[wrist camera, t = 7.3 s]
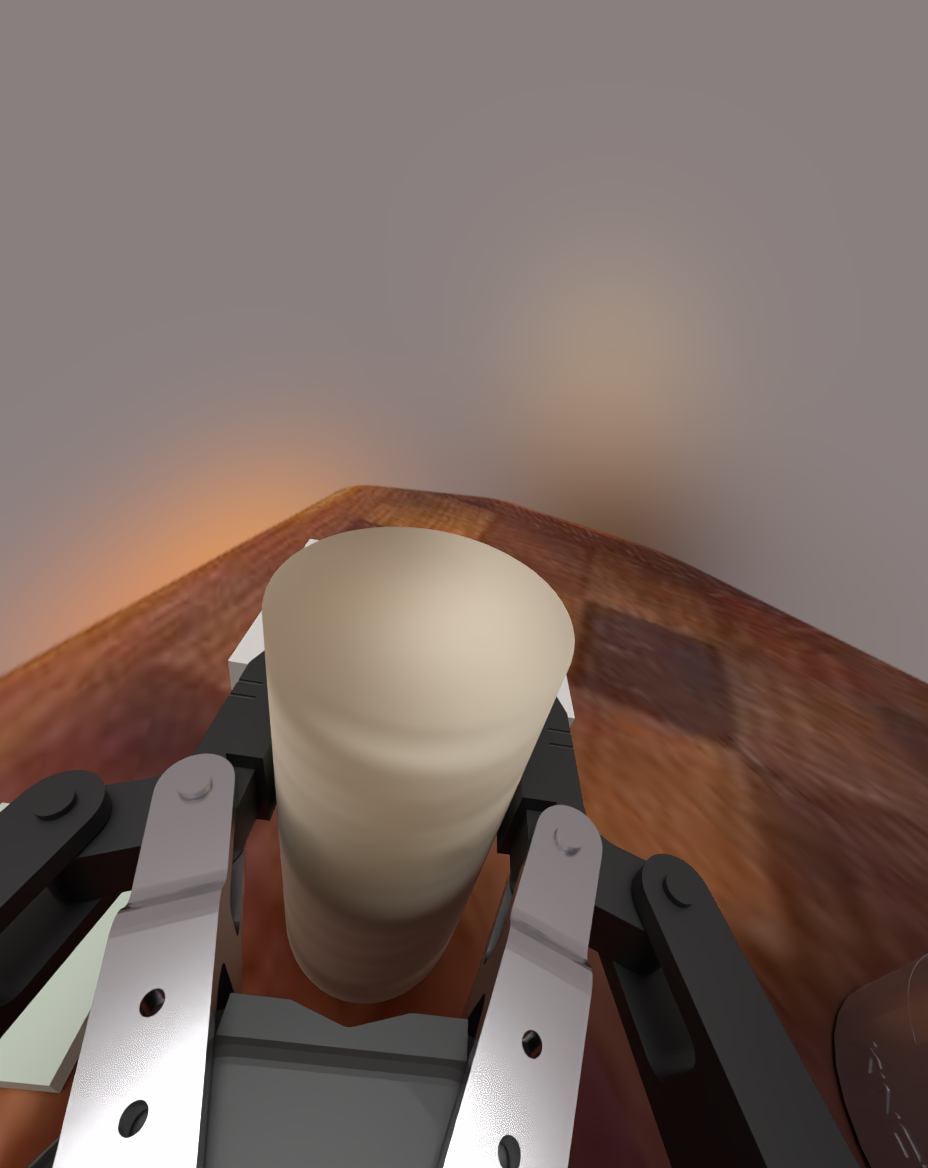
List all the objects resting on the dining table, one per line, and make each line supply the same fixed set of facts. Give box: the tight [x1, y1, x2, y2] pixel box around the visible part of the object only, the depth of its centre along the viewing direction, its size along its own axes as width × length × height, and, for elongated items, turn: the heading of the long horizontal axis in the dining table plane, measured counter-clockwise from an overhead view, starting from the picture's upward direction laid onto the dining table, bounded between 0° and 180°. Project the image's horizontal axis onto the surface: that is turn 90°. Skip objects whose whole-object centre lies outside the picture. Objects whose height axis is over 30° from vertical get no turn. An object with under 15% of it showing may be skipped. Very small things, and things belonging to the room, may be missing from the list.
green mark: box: [0, 803, 131, 1093], centre depth 15 cm, size 7×7×1 cm
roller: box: [262, 527, 575, 1004], centre depth 11 cm, size 5×5×11 cm
